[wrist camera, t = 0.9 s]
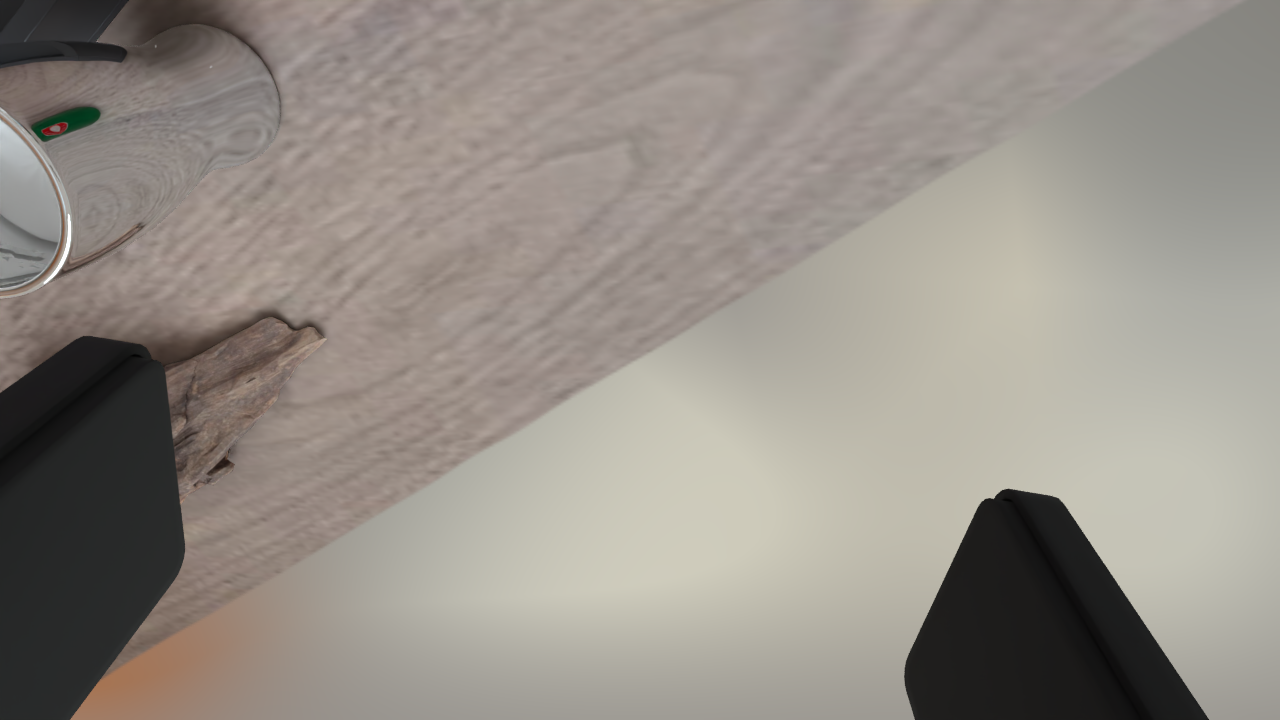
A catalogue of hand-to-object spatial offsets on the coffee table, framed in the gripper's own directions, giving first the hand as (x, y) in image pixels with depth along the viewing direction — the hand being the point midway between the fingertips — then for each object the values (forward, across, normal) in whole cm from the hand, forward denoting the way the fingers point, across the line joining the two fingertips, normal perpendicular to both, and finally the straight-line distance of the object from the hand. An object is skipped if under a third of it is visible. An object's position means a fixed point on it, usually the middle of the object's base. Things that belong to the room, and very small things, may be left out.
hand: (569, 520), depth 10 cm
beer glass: (+30, +19, +4) cm, 35 cm away
